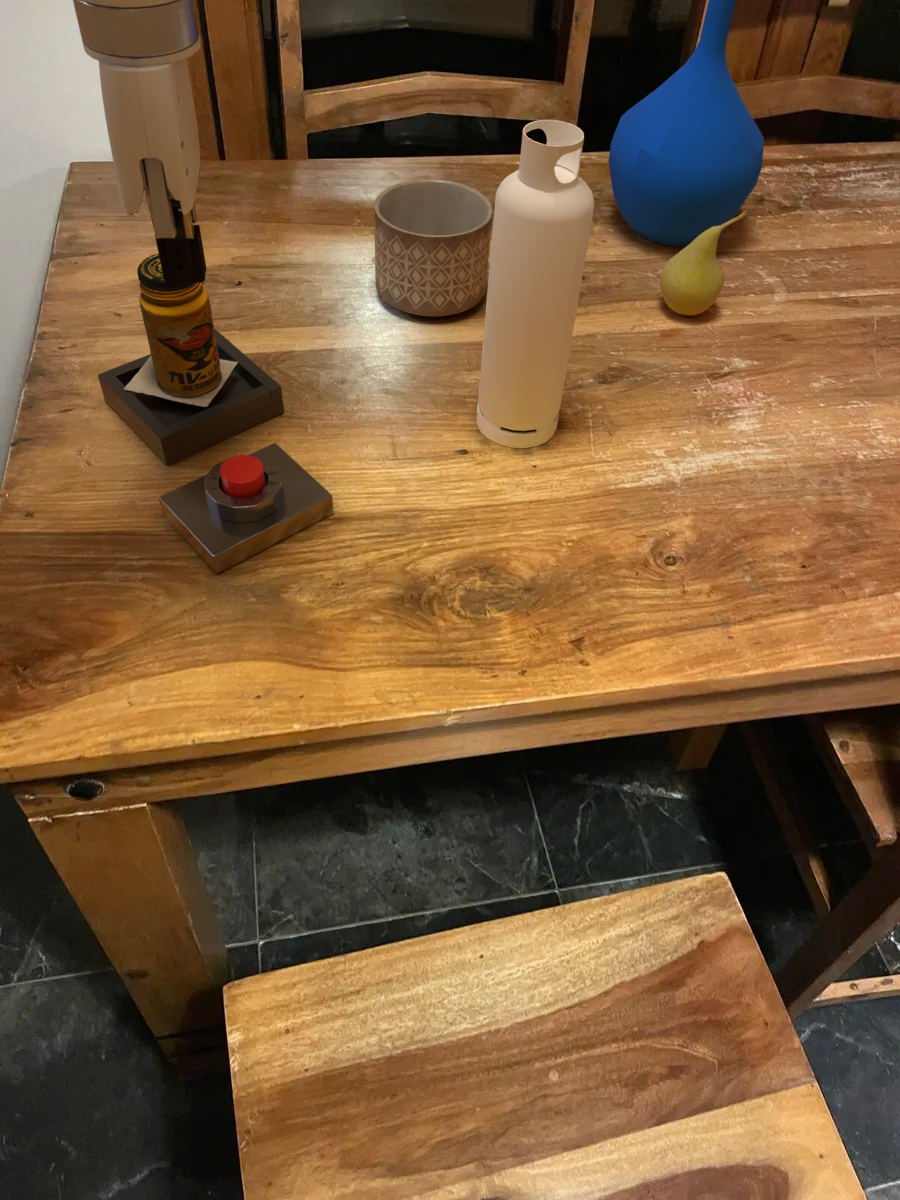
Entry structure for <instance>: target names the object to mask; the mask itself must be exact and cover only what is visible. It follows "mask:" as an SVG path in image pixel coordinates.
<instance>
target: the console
mask: <svg viewBox="0 0 900 1200" xmlns="http://www.w3.org/2000/svg"><path fill="white" fill-rule="evenodd" d="M248 455H249V456H253V457H255V458H257V459H259V460H260V461H261V463H262V464H263V469H264V476H265V486H264V488H263V490H262V491H261V492H260V493H258V494H256V495H254V496H252V497H243V498H236V497H232V496H230V495H228V494H227V493H226V492H225V491H224V489H223V485H222V480H221V474H220V468H221V465H222V464H223V463H224V462H225V461H226V460H227V459H228V458H227V459H224V460H222V461H220V462H218V463H215V464H214V465H213V466H212V467H211V469H210V470H209V471H208V473H207V474H204V475H203V476H200V477H199V478H196V479H194V480H192V481H189V482H188V483H185V484H184V485H182V486H179V487H177V488H175V489H173V490H171V491H169V492H167V493H164V494H162V495H160V496H158V501H159V504H160V509H161V513H162V516H163V517H164V518H165V520H167V521H168V522H169V524H171V526H172V527H173V528H174V529H175V530H176V531H177V532H178V533H179V534H180V536H182V538H183V539H184V540H185V541H186V542H187V543H188V544H189V545H190V547H191V548H193V550H194V551H195V552H196V553H197V554H198V555H199V557H200V558H201V559H202V560H203V561H204V562H205V563H206V564H207V565H208V566H209V567H210V568H211V570H212V571H213V572H214V573H215V574H216V575H219V574H221V573H222V572H224V571H226V570H229V569H230V568H232V567H234V566H236V565H238V564H239V563H242V562H243V561H245V560H248V559H249V558H251V557H253V556H255V555H257V554H259V553H260V552H263V551H265V550H266V549H268V548H270V547H272V546H274V545H276V544H278V543H280V542H281V541H284V540H285V539H287V538H289V537H291V536H293V535H295V534H297V533H298V532H300V531H303V530H304V529H306V528H308V527H310V526H312V525H314V524H316V523H317V522H321V521H322V520H324V519H325V518H328V517H329V516H331V515H333V514H334V500H333V499H334V498H333V495H332V494H331V492H329V491H328V489H326V488H325V487H324V486H323V485H322V484H321V483H319V482H318V481H317V480H316V479H315V478H314V477H313V476H312V475H311V474H310V473H308V471H307V470H306V469H304V468H303V467H302V466H301V465H300V464H299V463H298V462H297V461H295V460H294V458H292V457H291V456H290V455H289V454H288V453H287V452H286V451H284V449H283V448H282V447H281V446H280V445H278V444H277V443H276V442H274V443H271V444H268V445H267V446H264V447H263V448H261V449H258V450H256V451H254V452H251V453H250V454H248Z"/></svg>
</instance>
